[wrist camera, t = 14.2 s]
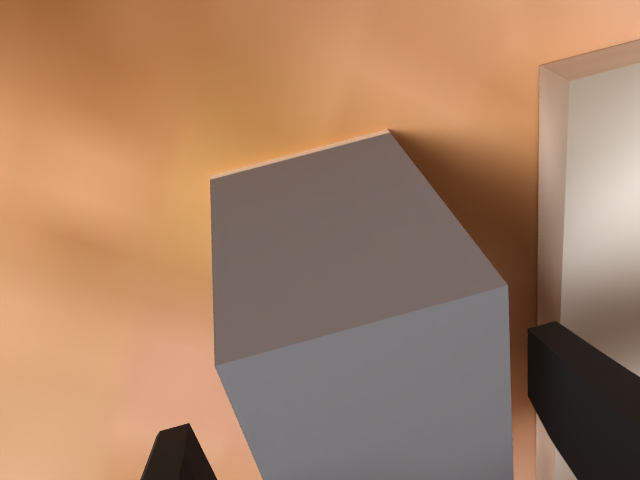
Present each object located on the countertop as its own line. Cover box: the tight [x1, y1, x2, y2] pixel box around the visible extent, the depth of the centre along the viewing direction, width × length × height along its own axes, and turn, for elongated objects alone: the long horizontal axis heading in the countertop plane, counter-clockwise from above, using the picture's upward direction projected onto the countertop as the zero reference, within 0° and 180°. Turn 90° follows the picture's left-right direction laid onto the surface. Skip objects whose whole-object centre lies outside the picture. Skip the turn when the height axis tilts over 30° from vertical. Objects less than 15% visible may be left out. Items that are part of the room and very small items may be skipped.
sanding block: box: [210, 129, 513, 480], centre depth 12 cm, size 9×4×6 cm, turn 12°
